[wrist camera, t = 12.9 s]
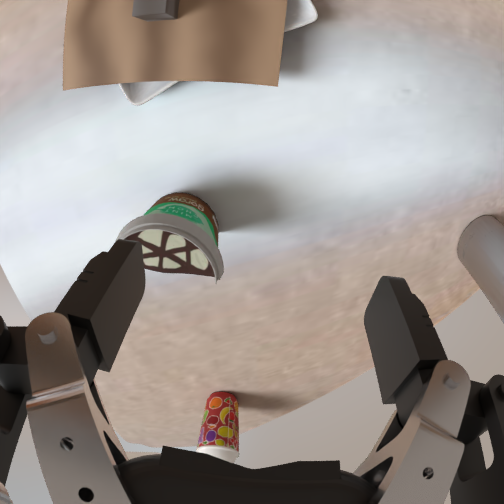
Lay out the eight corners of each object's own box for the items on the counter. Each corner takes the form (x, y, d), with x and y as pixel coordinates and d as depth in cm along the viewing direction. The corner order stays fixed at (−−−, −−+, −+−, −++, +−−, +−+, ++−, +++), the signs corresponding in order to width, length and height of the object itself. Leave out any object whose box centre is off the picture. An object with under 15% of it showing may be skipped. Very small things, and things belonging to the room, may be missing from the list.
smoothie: (234, 409, 65) (228, 487, 48) (199, 400, 63) (188, 481, 46) (248, 393, 60) (244, 480, 44) (210, 384, 59) (199, 473, 42)
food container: (234, 188, 36) (226, 230, 27) (230, 233, 39) (221, 284, 31) (135, 180, 35) (99, 217, 27) (137, 223, 39) (107, 269, 30)
